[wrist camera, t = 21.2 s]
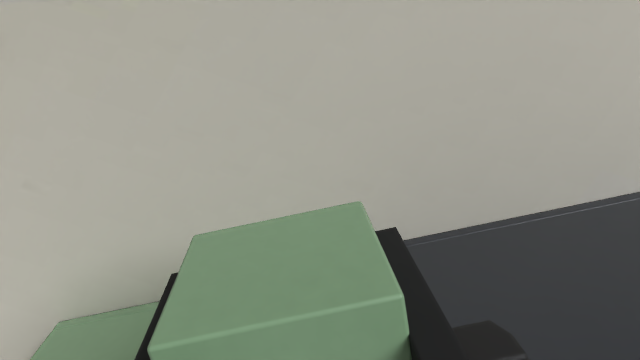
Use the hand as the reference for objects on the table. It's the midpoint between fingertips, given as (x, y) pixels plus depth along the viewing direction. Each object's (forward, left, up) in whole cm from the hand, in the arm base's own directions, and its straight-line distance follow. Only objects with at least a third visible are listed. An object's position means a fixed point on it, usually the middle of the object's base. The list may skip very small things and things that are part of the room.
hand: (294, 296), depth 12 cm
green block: (0, 0, 0) cm, 0 cm away
